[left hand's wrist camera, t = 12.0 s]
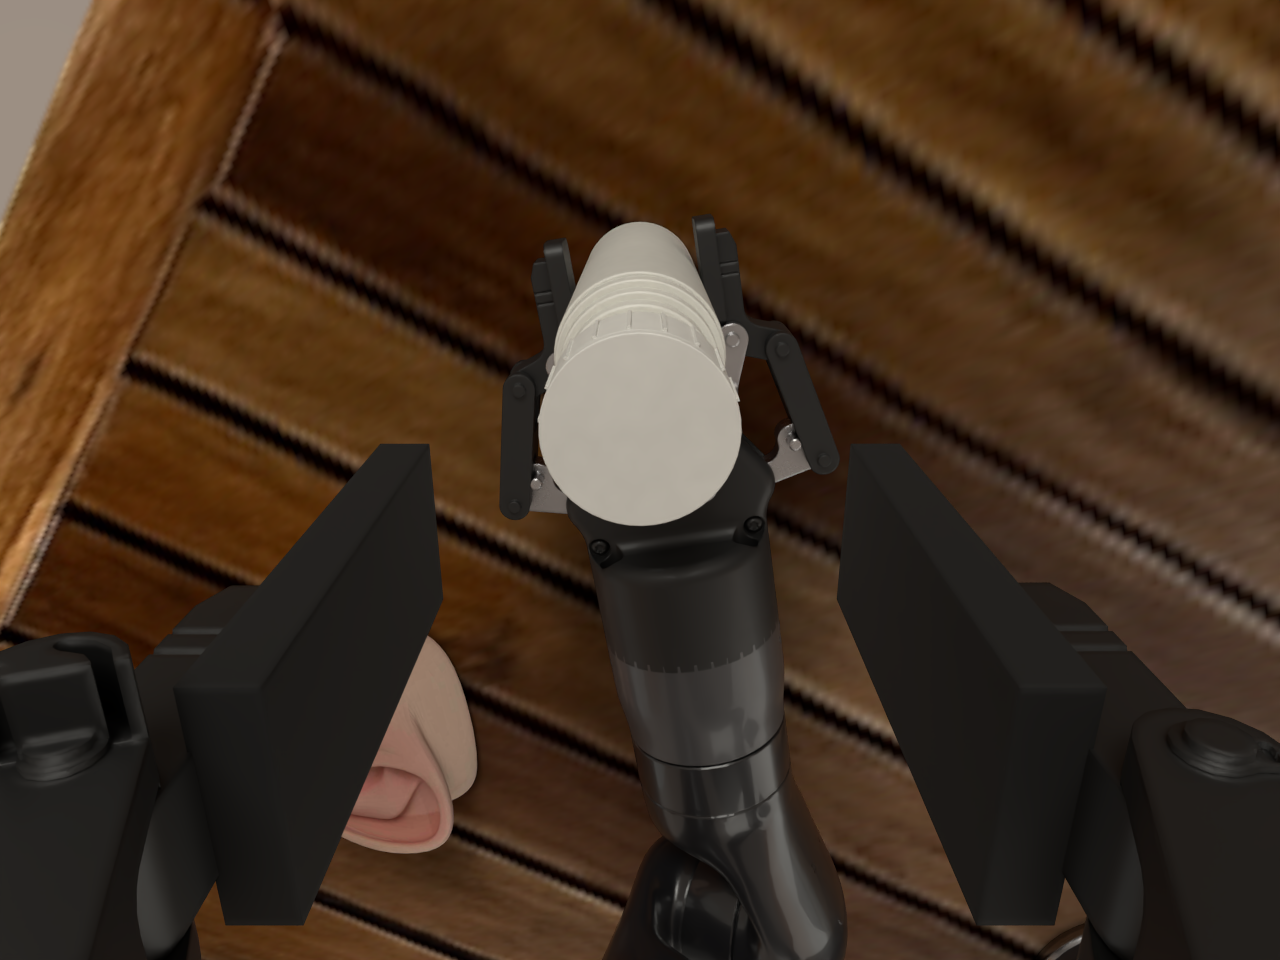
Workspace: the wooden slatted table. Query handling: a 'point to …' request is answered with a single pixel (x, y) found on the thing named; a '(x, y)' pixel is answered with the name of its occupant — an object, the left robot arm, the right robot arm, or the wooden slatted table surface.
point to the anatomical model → (418, 763)
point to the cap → (640, 420)
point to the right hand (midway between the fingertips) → (627, 231)
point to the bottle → (639, 284)
